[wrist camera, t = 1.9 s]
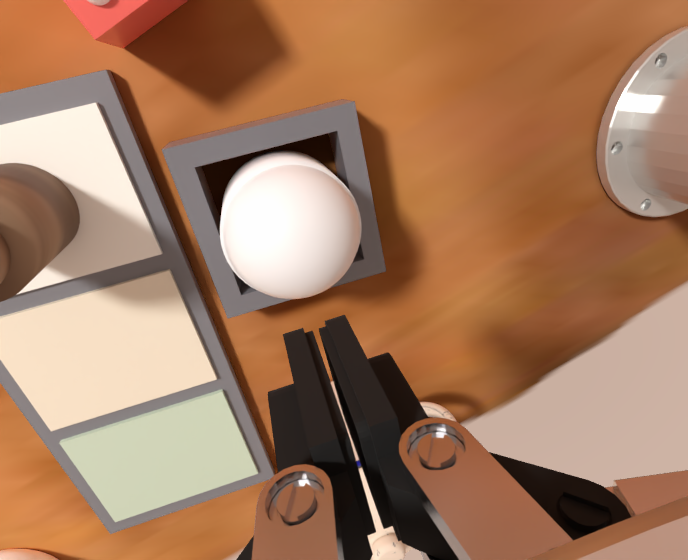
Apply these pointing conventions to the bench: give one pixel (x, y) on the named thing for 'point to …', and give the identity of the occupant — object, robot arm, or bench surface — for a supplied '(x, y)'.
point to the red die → (121, 17)
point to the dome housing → (255, 137)
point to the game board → (119, 324)
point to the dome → (288, 225)
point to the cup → (24, 555)
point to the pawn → (32, 223)
